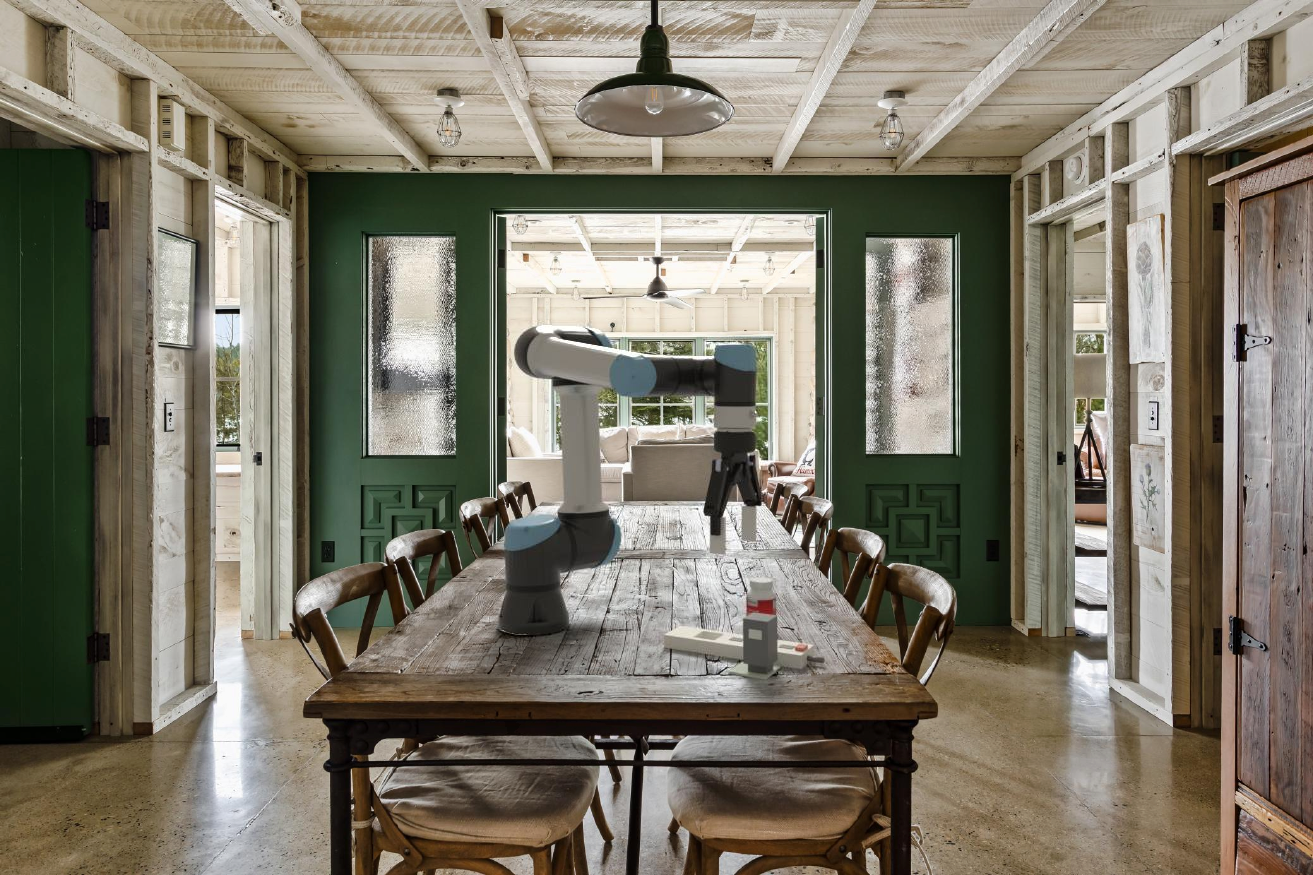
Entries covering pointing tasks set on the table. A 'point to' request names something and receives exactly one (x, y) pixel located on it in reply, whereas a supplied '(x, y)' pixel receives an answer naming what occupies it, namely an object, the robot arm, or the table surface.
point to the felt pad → (743, 671)
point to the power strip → (736, 646)
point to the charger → (760, 642)
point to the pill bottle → (761, 597)
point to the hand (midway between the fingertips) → (733, 547)
